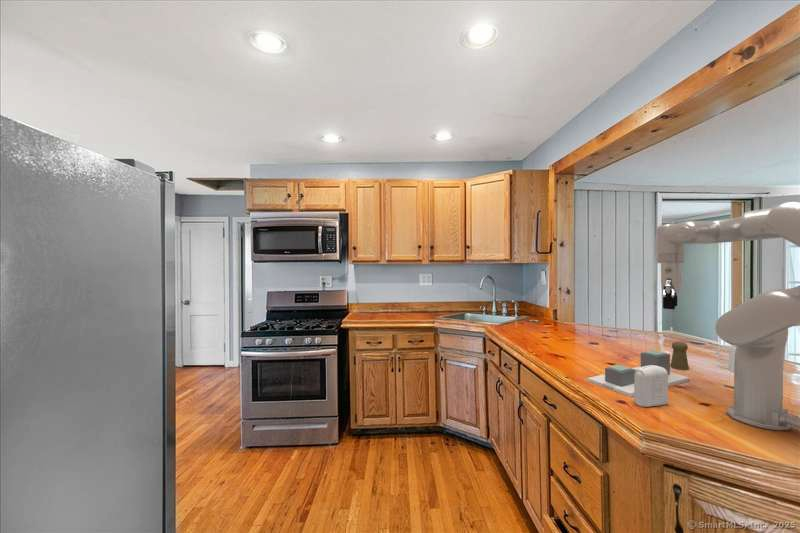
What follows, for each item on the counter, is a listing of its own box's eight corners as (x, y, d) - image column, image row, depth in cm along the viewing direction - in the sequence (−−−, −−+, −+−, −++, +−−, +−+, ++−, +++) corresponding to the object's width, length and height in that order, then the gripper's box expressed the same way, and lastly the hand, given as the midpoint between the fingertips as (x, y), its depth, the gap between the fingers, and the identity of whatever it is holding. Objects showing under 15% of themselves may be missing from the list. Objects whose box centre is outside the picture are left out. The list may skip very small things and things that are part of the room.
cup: (716, 365, 143) (716, 342, 142) (757, 372, 134) (758, 347, 134) (715, 370, 137) (716, 346, 137) (758, 377, 128) (758, 351, 128)
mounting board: (689, 380, 126) (689, 355, 125) (630, 397, 112) (630, 368, 111) (644, 368, 140) (644, 345, 140) (587, 381, 126) (587, 356, 126)
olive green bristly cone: (687, 367, 141) (687, 341, 141) (690, 371, 136) (690, 344, 136) (669, 364, 144) (669, 339, 144) (671, 368, 139) (671, 342, 139)
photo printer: (656, 399, 110) (657, 362, 109) (670, 405, 105) (670, 366, 105) (631, 402, 107) (631, 365, 107) (644, 408, 103) (644, 369, 103)
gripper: (682, 259, 108) (682, 311, 108) (685, 258, 121) (685, 305, 121) (653, 259, 113) (653, 309, 114) (659, 259, 126) (659, 304, 126)
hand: (670, 307), depth 117 cm, fingers open, 9 cm apart
